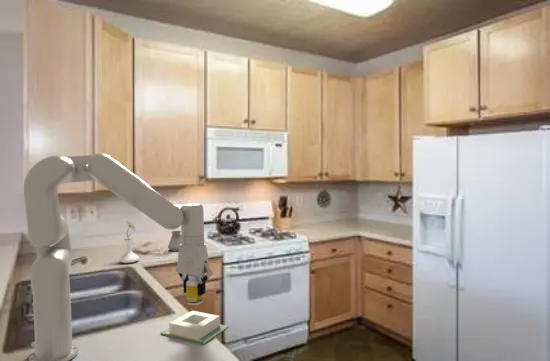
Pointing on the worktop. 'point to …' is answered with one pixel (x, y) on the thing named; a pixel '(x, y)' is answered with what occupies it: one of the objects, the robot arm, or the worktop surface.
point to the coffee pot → (175, 241)
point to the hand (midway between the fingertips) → (194, 292)
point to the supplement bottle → (193, 291)
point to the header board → (195, 327)
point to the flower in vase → (129, 248)
